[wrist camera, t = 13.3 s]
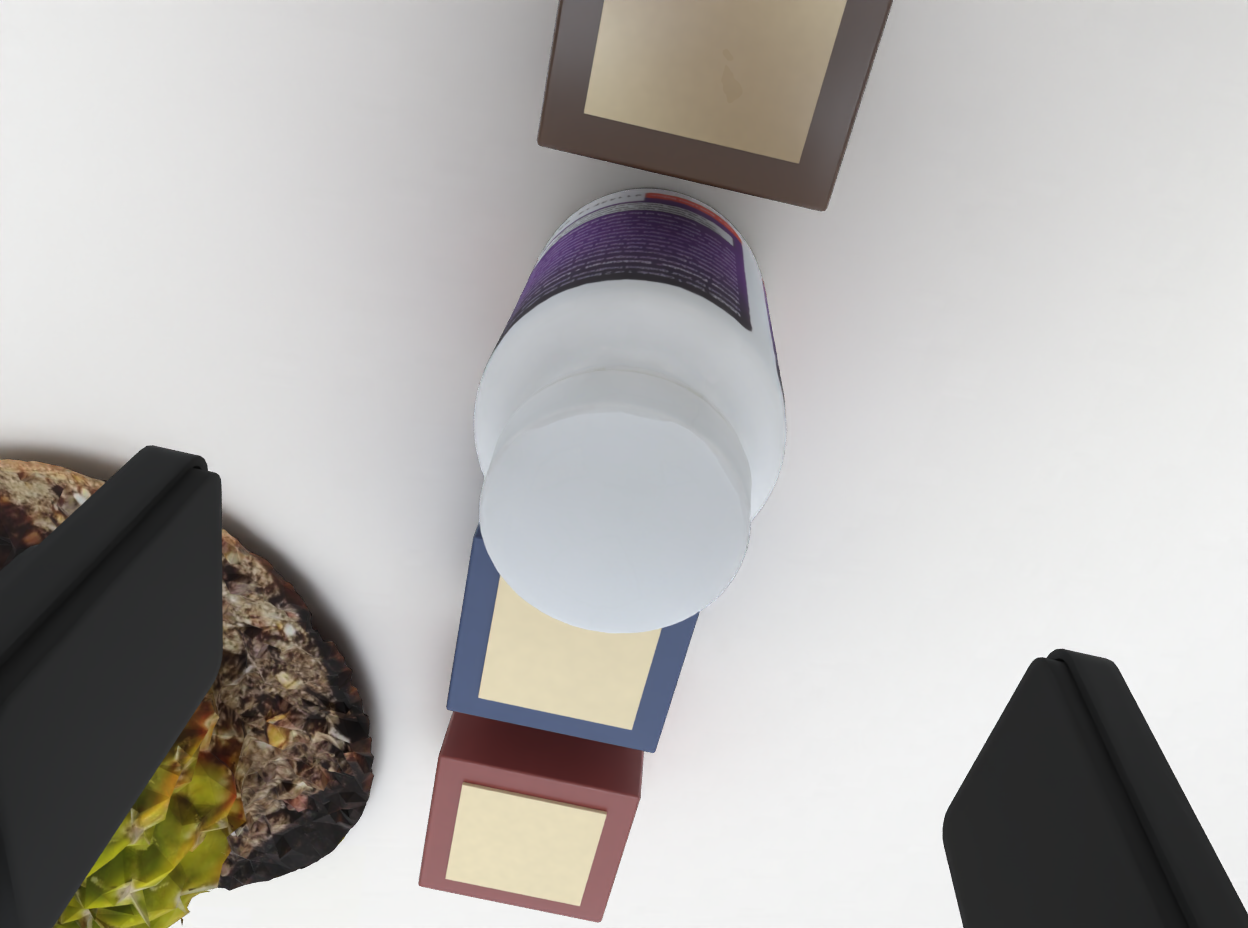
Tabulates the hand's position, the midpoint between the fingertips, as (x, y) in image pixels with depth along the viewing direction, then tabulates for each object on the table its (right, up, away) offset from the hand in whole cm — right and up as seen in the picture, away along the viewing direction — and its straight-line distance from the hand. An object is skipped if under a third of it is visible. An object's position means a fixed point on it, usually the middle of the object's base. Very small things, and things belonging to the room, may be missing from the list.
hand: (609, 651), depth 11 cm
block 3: (+2, +11, +8) cm, 14 cm away
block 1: (-1, 0, +15) cm, 15 cm away
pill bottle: (+1, +6, +12) cm, 13 cm away
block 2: (-2, -5, +18) cm, 19 cm away
